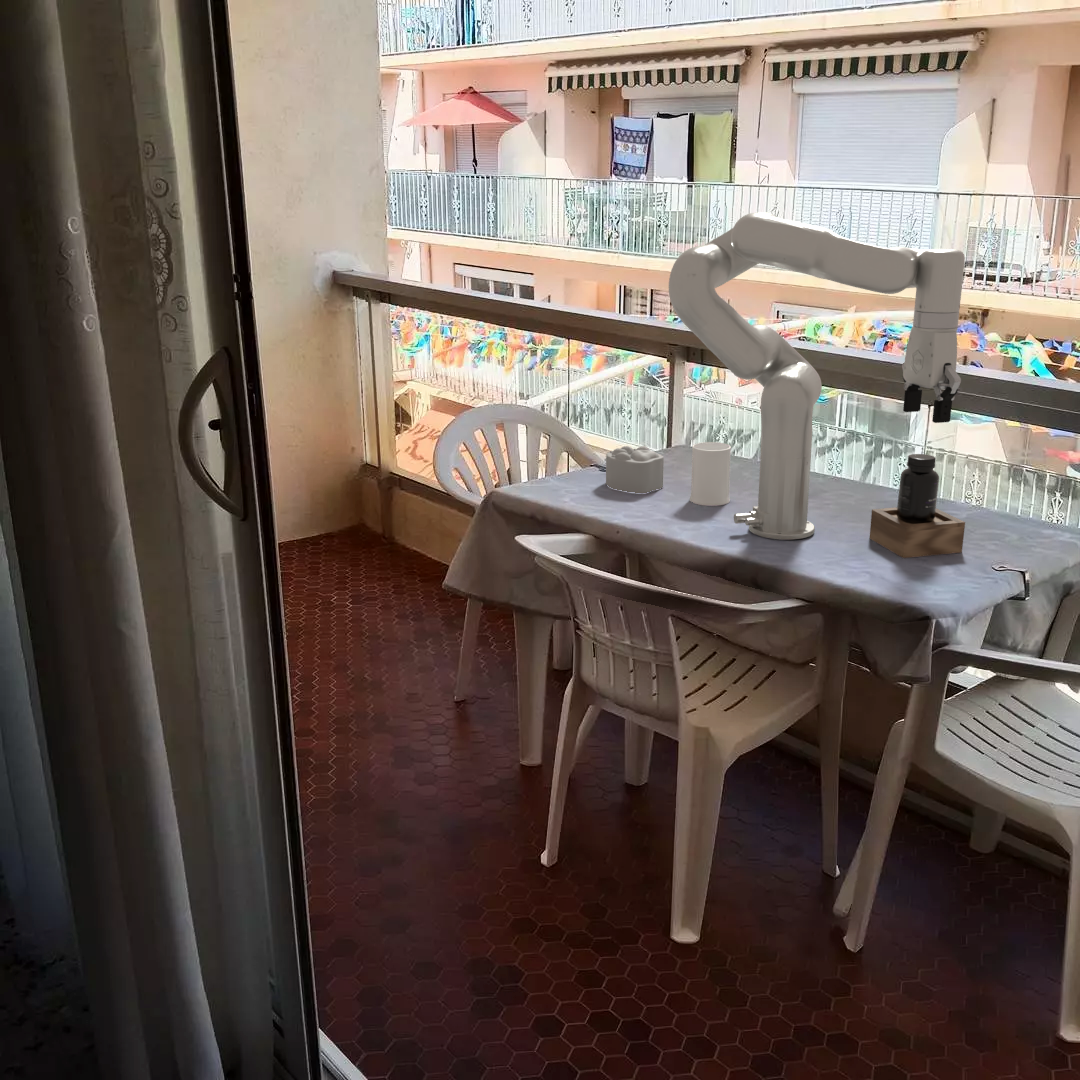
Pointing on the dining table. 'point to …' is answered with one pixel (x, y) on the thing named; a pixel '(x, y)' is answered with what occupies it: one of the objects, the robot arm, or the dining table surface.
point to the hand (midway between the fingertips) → (925, 416)
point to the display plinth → (917, 534)
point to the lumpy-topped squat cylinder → (634, 469)
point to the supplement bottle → (918, 490)
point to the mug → (710, 474)
